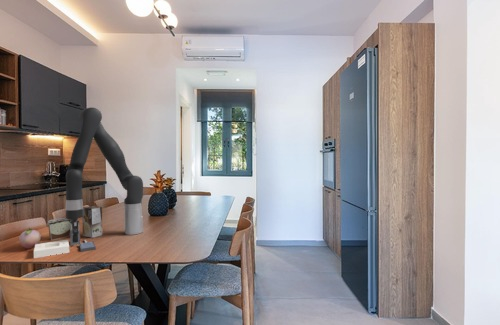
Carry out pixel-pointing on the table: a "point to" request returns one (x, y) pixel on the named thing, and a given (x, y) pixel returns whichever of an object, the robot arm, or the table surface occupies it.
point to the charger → (72, 238)
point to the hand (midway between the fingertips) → (74, 240)
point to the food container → (59, 228)
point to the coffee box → (92, 221)
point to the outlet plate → (51, 248)
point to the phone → (87, 246)
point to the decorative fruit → (29, 238)
